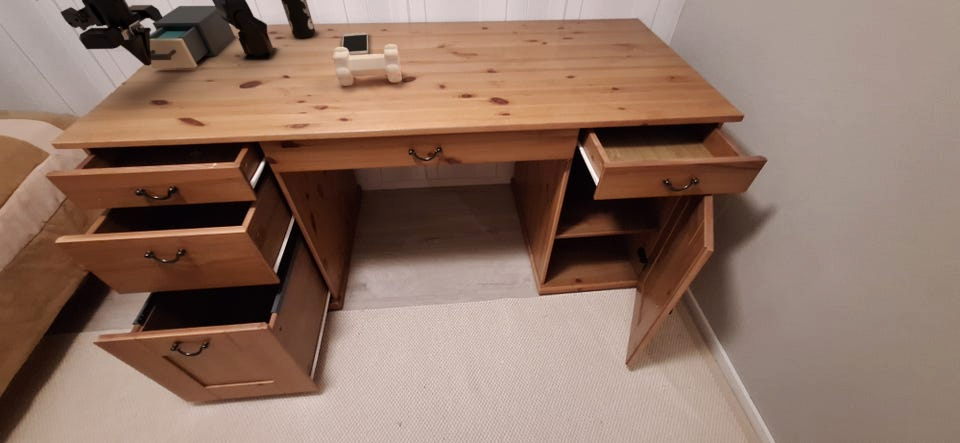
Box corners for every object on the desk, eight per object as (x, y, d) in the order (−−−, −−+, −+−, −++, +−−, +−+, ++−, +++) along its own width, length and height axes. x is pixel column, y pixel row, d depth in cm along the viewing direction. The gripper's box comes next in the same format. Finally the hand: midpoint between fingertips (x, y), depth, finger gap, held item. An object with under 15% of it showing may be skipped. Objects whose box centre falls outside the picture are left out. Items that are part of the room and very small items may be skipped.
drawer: (187, 75, 94) (171, 47, 89) (144, 75, 93) (125, 47, 88) (216, 48, 105) (203, 22, 100) (178, 48, 105) (163, 22, 100)
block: (196, 50, 101) (186, 31, 97) (187, 58, 98) (176, 38, 94) (177, 51, 101) (166, 31, 97) (167, 59, 97) (156, 38, 94)
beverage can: (309, 40, 112) (295, -6, 103) (289, 38, 113) (273, -8, 104) (320, 31, 116) (307, -13, 107) (300, 30, 117) (286, -14, 108)
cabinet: (215, 56, 103) (198, 22, 97) (171, 56, 103) (152, 23, 97) (235, 37, 113) (221, 5, 107) (195, 37, 112) (179, 5, 106)
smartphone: (368, 35, 114) (367, 31, 114) (368, 55, 104) (367, 52, 103) (343, 36, 113) (343, 33, 113) (341, 58, 103) (341, 54, 102)
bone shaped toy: (402, 71, 98) (397, 39, 92) (402, 87, 92) (397, 53, 86) (342, 75, 96) (333, 42, 90) (339, 91, 90) (329, 57, 84)
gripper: (89, -24, 83) (136, 49, 94) (22, 4, 70) (85, 84, 82) (141, -24, 83) (181, 48, 95) (84, 3, 71) (138, 83, 82)
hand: (148, 64), depth 88 cm, fingers closed
